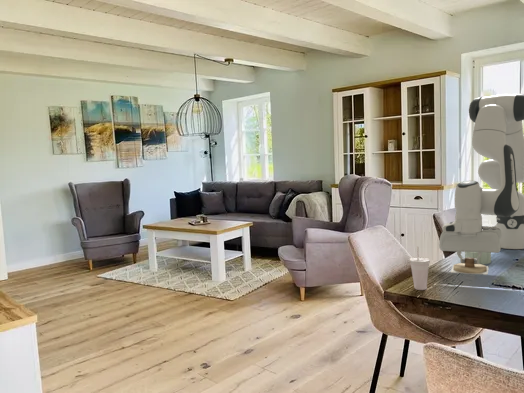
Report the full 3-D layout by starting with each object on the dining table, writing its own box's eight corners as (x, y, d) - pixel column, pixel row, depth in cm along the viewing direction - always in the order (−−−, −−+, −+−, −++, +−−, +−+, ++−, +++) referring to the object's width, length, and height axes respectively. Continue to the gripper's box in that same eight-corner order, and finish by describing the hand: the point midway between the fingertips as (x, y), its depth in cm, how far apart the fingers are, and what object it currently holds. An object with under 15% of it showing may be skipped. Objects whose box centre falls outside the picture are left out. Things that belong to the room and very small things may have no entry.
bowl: (466, 259, 180) (465, 247, 179) (491, 260, 175) (491, 248, 175) (464, 264, 172) (463, 252, 171) (490, 266, 167) (490, 253, 167)
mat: (453, 265, 171) (453, 264, 171) (488, 267, 165) (488, 266, 165) (450, 273, 161) (450, 272, 161) (487, 276, 155) (487, 274, 155)
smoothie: (406, 287, 148) (404, 246, 147) (420, 284, 151) (418, 243, 150) (421, 292, 142) (419, 249, 141) (435, 288, 145) (433, 246, 144)
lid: (454, 264, 171) (454, 254, 170) (487, 266, 165) (486, 255, 165) (452, 272, 161) (451, 261, 161) (486, 274, 156) (485, 262, 155)
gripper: (501, 225, 159) (502, 262, 161) (440, 224, 169) (441, 260, 171) (501, 228, 154) (501, 267, 155) (437, 227, 164) (439, 264, 165)
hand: (469, 263), depth 163 cm, fingers closed on lid, 3 cm apart
